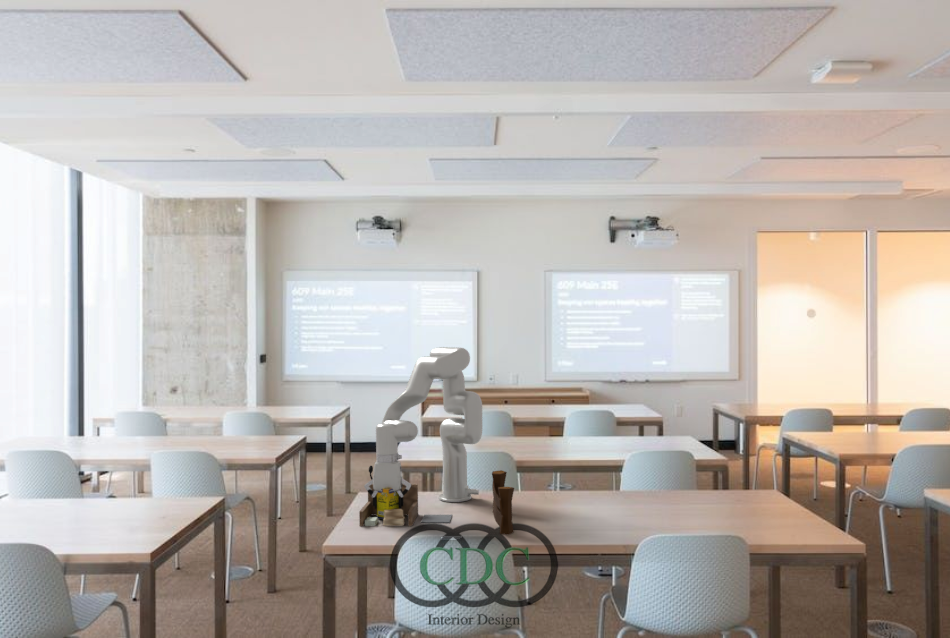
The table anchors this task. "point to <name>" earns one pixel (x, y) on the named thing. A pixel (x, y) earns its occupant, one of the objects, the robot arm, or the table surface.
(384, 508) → the supplement box
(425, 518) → the pad
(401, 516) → the offcut
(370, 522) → the offcut
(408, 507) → the rack
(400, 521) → the offcut
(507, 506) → the decorative fence
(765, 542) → the table surface
